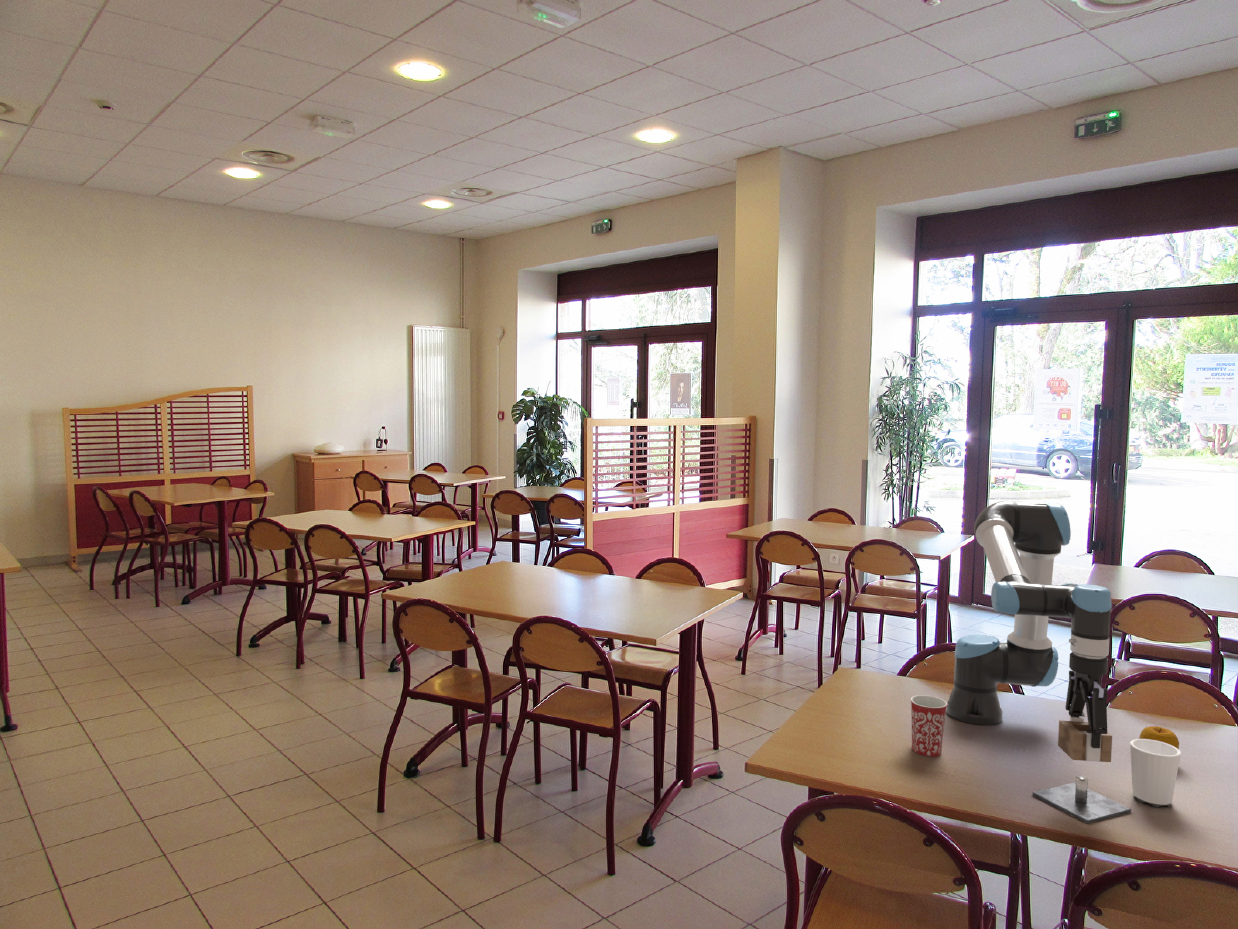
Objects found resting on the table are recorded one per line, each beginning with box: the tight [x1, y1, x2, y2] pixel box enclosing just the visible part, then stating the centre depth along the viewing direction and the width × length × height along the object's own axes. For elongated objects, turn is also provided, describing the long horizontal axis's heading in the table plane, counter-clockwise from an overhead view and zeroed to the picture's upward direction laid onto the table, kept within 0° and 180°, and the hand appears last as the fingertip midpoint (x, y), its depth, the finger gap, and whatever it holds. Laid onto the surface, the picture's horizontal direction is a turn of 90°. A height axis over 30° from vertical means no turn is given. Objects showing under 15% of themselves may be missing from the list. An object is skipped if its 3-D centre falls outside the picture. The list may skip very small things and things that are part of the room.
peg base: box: [1032, 775, 1132, 825], centre depth 186 cm, size 14×14×6 cm
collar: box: [1057, 720, 1113, 763], centre depth 185 cm, size 8×8×6 cm
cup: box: [1129, 738, 1182, 808], centre depth 188 cm, size 10×10×13 cm
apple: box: [1138, 725, 1180, 750], centre depth 209 cm, size 8×8×9 cm
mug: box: [910, 694, 948, 757], centre depth 215 cm, size 13×9×14 cm
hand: (1083, 752), depth 185 cm, fingers closed on collar, 8 cm apart
